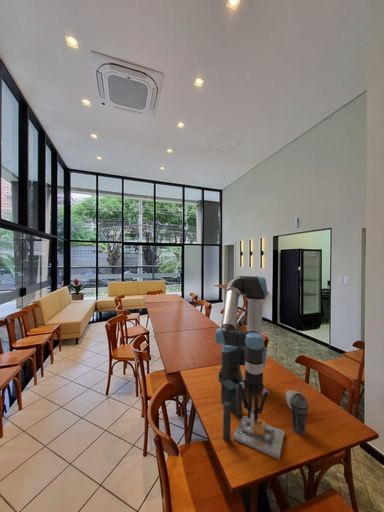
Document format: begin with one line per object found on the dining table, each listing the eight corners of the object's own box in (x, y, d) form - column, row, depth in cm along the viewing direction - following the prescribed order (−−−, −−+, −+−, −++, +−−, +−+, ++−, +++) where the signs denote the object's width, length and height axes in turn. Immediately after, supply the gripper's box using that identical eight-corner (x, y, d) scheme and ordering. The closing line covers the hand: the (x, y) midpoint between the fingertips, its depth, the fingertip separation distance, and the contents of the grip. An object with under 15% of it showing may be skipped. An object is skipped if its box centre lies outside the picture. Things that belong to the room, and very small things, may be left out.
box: (238, 408, 111) (239, 386, 112) (229, 411, 109) (230, 389, 109) (229, 399, 118) (230, 379, 119) (220, 402, 116) (221, 381, 116)
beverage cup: (286, 424, 101) (287, 380, 101) (301, 423, 102) (302, 379, 102) (295, 437, 94) (295, 389, 94) (311, 436, 94) (312, 389, 95)
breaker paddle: (253, 433, 93) (253, 422, 93) (255, 427, 96) (255, 416, 96) (263, 437, 91) (263, 425, 91) (265, 431, 94) (265, 419, 94)
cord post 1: (221, 439, 92) (222, 404, 92) (224, 434, 94) (225, 401, 95) (228, 442, 90) (229, 407, 91) (231, 437, 93) (232, 403, 93)
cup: (291, 414, 108) (291, 400, 108) (280, 401, 118) (280, 388, 118) (305, 412, 109) (306, 399, 109) (293, 400, 119) (293, 387, 119)
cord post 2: (234, 416, 106) (235, 386, 106) (236, 412, 108) (237, 383, 108) (240, 418, 104) (241, 388, 104) (242, 414, 107) (243, 385, 107)
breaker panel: (233, 439, 92) (233, 431, 92) (243, 418, 104) (243, 412, 104) (279, 459, 83) (279, 451, 83) (284, 434, 95) (284, 427, 95)
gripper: (236, 370, 95) (235, 426, 95) (267, 379, 89) (266, 439, 88) (241, 363, 102) (240, 415, 101) (271, 371, 95) (270, 427, 95)
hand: (252, 426), depth 95 cm, fingers closed
